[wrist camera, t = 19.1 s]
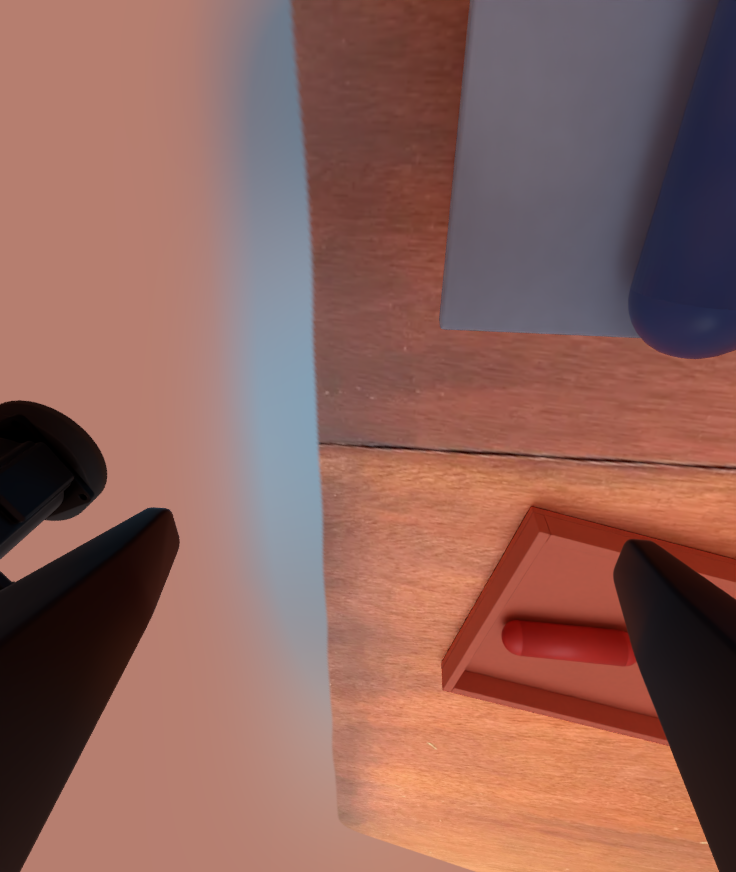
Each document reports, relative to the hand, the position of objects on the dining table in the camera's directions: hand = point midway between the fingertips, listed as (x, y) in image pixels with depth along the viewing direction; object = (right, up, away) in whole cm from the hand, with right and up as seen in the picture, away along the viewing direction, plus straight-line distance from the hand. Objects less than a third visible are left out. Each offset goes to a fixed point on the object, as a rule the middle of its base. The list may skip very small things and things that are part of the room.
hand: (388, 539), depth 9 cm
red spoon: (+14, -10, +18) cm, 25 cm away
